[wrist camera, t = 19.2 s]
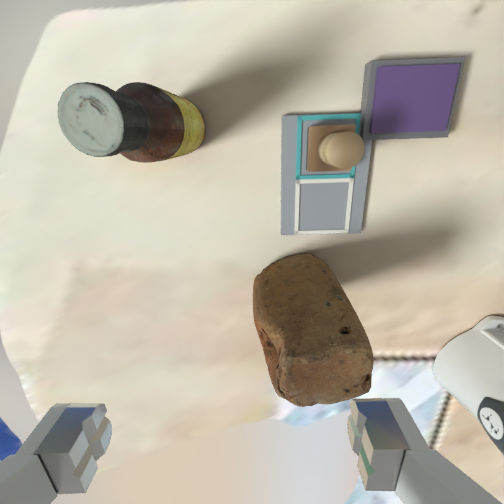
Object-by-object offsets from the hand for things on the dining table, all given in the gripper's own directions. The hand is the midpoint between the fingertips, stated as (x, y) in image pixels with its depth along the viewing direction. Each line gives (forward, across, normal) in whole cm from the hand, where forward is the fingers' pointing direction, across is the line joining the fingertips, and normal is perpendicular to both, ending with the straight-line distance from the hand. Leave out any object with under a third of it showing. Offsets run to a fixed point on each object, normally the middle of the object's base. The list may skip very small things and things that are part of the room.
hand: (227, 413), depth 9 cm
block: (+31, +6, -11) cm, 34 cm away
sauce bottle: (+31, -8, +10) cm, 34 cm away
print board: (+31, +10, +3) cm, 33 cm away
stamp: (+30, +10, +7) cm, 33 cm away
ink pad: (+31, +19, +12) cm, 38 cm away
